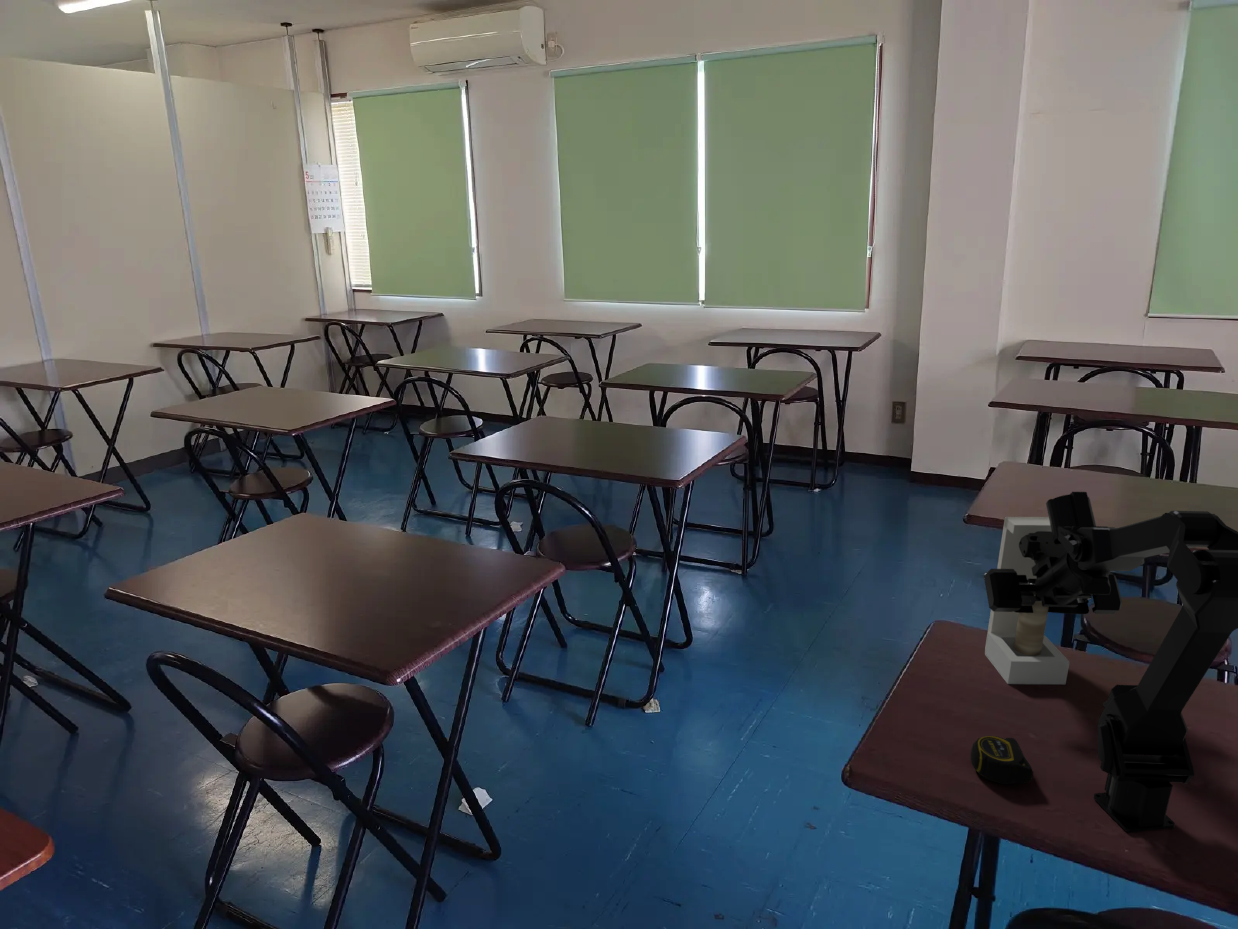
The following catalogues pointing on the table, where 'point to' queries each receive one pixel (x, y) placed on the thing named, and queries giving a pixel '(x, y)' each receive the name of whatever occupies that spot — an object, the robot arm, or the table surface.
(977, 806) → the table surface
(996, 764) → the tape measure
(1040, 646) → the peg
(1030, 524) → the white holder stand
